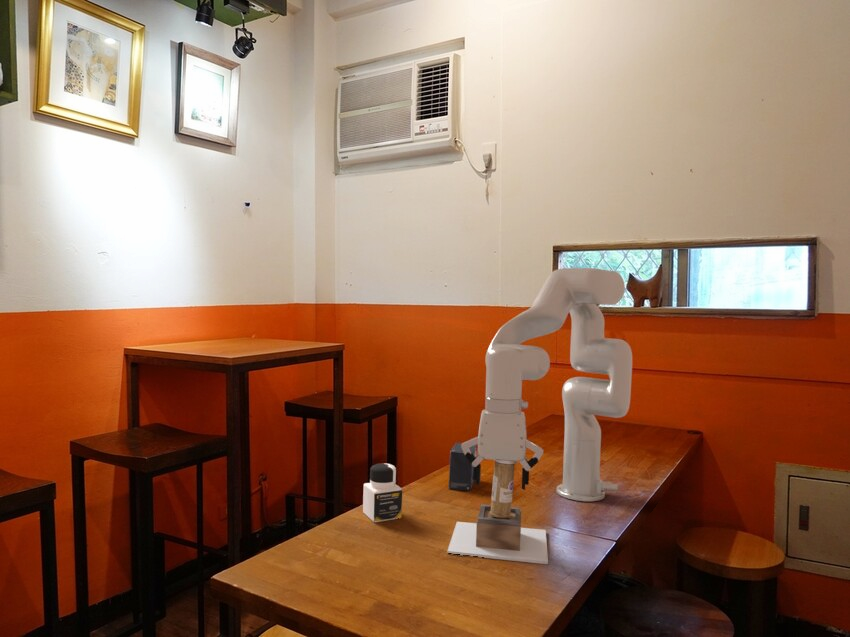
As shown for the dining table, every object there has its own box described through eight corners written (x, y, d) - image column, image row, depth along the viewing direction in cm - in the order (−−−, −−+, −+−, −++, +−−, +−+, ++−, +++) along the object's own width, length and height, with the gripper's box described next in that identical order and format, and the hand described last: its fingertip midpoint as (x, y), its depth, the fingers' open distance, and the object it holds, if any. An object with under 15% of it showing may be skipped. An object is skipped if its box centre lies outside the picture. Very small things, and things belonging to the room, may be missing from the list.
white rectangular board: (545, 532, 130) (545, 529, 130) (547, 564, 115) (547, 561, 115) (456, 524, 134) (456, 521, 134) (447, 553, 118) (447, 550, 118)
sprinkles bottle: (508, 520, 121) (514, 456, 121) (486, 516, 123) (492, 452, 123) (512, 515, 125) (518, 452, 126) (492, 510, 127) (498, 449, 127)
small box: (471, 491, 157) (472, 453, 156) (447, 489, 158) (449, 451, 158) (476, 479, 167) (477, 443, 167) (453, 478, 168) (454, 442, 168)
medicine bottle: (373, 523, 133) (375, 471, 133) (362, 512, 139) (363, 463, 139) (402, 518, 136) (403, 467, 136) (389, 508, 143) (390, 459, 142)
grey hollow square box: (520, 533, 128) (521, 507, 128) (519, 551, 119) (520, 523, 119) (479, 529, 129) (480, 503, 129) (475, 546, 120) (476, 518, 120)
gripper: (544, 405, 125) (541, 483, 126) (464, 400, 128) (462, 477, 129) (545, 411, 118) (542, 495, 119) (460, 406, 121) (458, 487, 122)
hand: (500, 485), depth 124 cm, fingers open, 9 cm apart
